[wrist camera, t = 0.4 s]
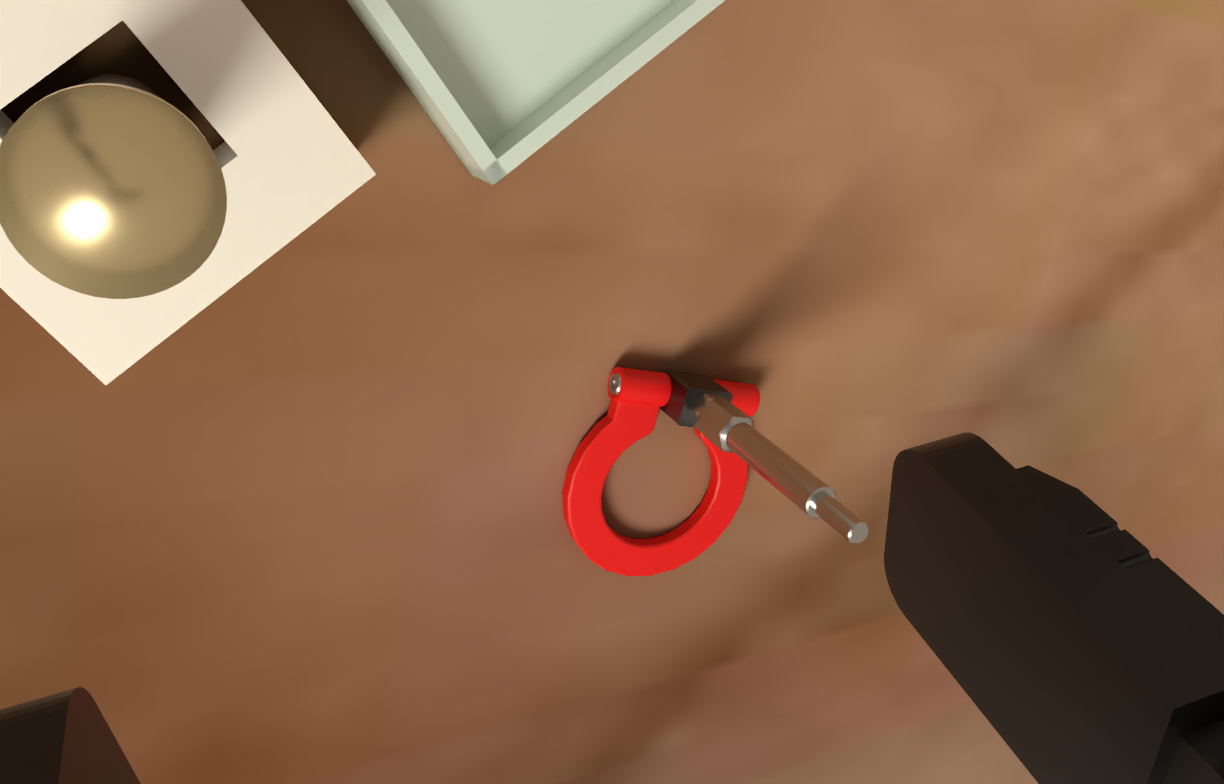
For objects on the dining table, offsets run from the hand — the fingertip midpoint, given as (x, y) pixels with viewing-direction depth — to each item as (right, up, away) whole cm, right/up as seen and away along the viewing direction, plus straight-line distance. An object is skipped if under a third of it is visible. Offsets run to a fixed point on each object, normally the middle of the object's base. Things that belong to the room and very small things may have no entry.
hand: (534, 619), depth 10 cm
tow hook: (+3, -1, +34) cm, 34 cm away
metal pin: (-14, +10, +21) cm, 28 cm away
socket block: (-14, +10, +21) cm, 28 cm away
